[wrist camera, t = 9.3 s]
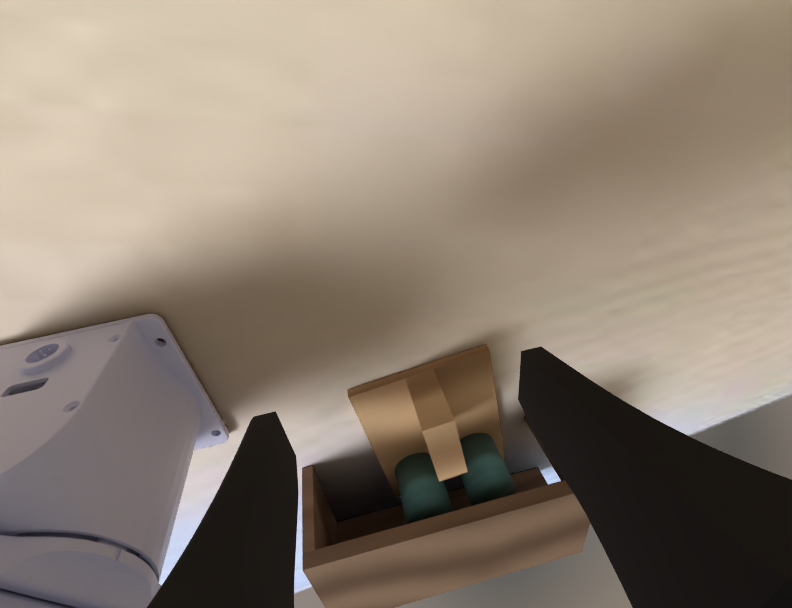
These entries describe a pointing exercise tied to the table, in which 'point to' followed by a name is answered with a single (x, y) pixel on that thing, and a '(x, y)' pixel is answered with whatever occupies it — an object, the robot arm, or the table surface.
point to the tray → (437, 432)
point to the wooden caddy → (436, 542)
